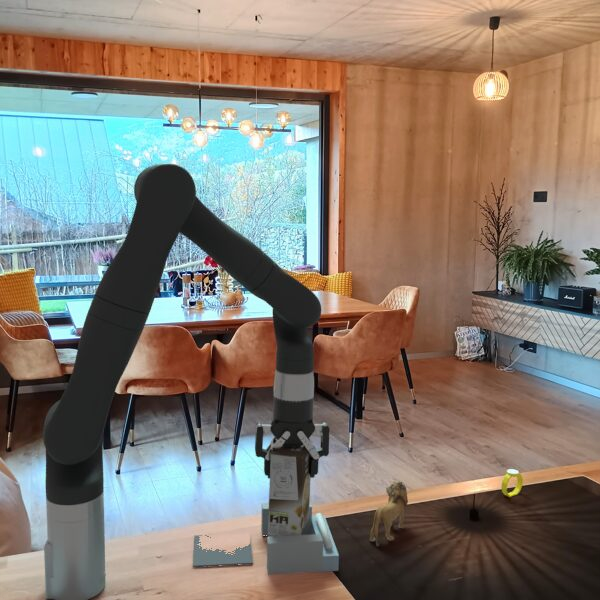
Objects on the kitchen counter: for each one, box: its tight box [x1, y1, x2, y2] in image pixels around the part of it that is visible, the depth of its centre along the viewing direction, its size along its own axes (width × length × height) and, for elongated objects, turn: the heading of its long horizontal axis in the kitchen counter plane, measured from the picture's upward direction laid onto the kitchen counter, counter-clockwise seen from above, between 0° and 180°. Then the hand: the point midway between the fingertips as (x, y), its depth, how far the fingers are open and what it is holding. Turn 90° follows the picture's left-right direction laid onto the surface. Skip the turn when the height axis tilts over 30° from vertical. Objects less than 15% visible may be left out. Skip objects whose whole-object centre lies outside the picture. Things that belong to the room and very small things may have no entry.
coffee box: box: [268, 440, 313, 536], centre depth 124 cm, size 9×6×16 cm
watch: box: [501, 468, 524, 498], centre depth 152 cm, size 6×3×6 cm, turn 123°
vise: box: [260, 501, 340, 575], centre depth 125 cm, size 13×16×6 cm
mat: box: [192, 534, 254, 568], centre depth 125 cm, size 11×11×1 cm
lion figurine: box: [369, 480, 409, 547], centre depth 133 cm, size 15×5×9 cm, turn 156°
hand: (290, 476), depth 123 cm, fingers closed on coffee box, 7 cm apart
